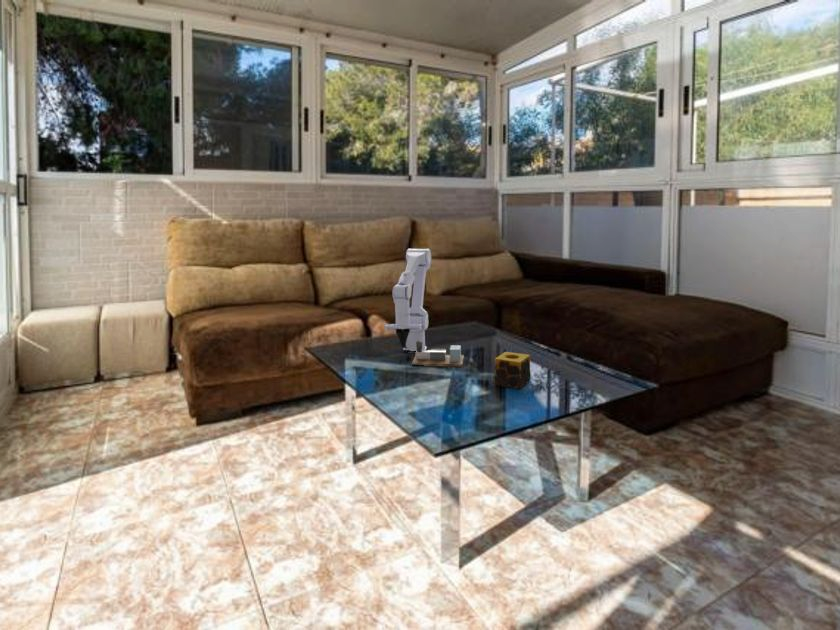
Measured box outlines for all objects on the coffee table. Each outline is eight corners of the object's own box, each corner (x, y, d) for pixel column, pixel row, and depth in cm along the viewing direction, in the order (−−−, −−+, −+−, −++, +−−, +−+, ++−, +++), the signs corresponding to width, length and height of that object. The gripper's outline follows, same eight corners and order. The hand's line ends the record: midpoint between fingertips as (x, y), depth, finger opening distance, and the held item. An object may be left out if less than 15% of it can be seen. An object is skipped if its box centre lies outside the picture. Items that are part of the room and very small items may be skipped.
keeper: (450, 361, 223) (449, 349, 222) (451, 357, 229) (451, 345, 228) (460, 361, 223) (459, 349, 222) (460, 357, 229) (460, 345, 228)
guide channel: (430, 360, 225) (430, 352, 224) (431, 357, 230) (431, 348, 229) (445, 361, 224) (445, 352, 224) (446, 357, 229) (446, 349, 228)
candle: (520, 390, 193) (520, 362, 191) (493, 385, 199) (493, 358, 196) (531, 381, 202) (531, 354, 200) (505, 377, 207) (505, 351, 205)
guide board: (411, 365, 223) (411, 363, 223) (416, 356, 234) (415, 354, 234) (462, 366, 220) (462, 364, 220) (463, 357, 232) (463, 355, 231)
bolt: (415, 359, 227) (415, 342, 225) (416, 357, 230) (416, 340, 228) (445, 359, 225) (445, 342, 224) (446, 357, 228) (445, 340, 226)
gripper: (382, 316, 222) (384, 349, 225) (419, 316, 220) (420, 349, 223) (386, 312, 229) (387, 344, 232) (421, 312, 227) (422, 345, 230)
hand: (403, 346), depth 228 cm, fingers closed
